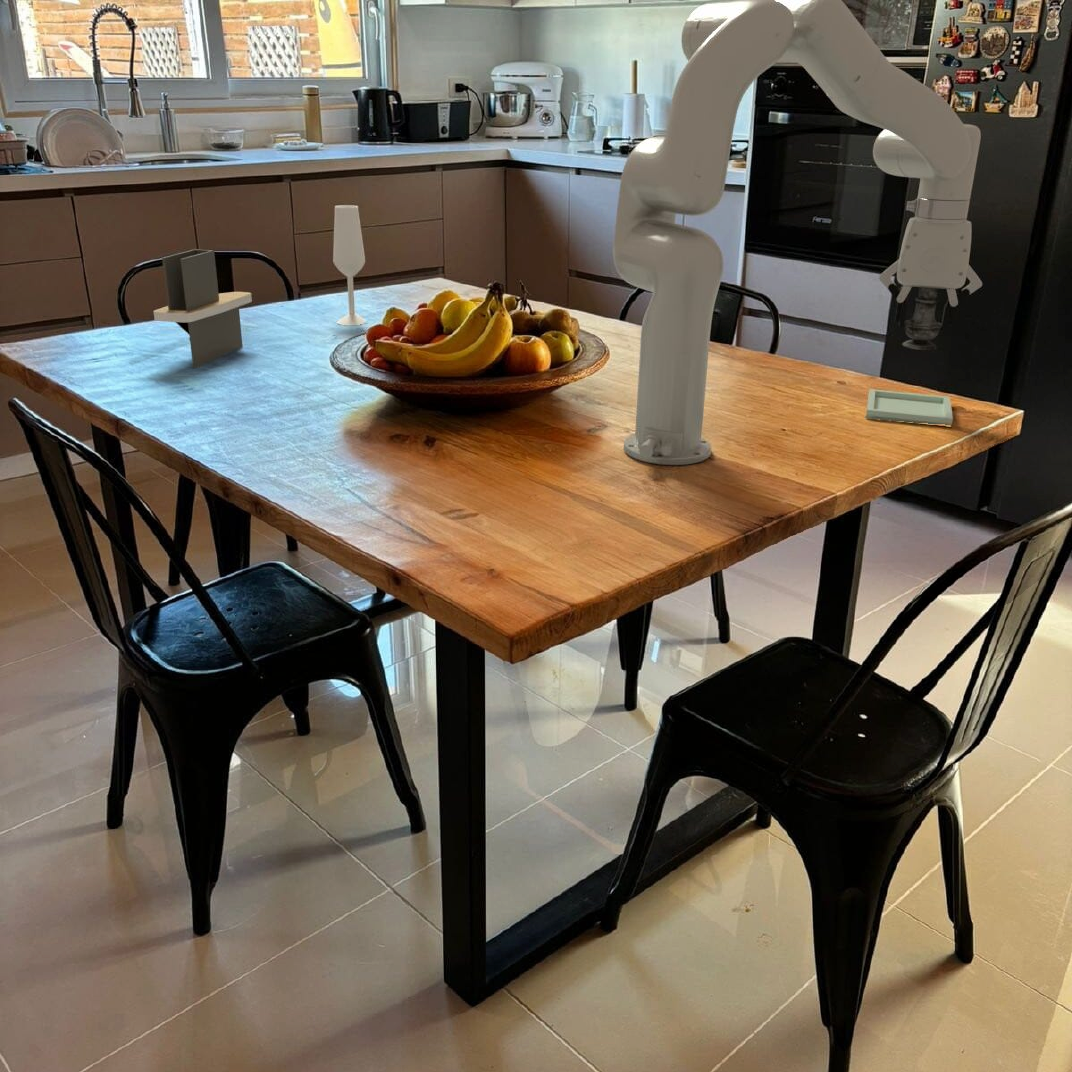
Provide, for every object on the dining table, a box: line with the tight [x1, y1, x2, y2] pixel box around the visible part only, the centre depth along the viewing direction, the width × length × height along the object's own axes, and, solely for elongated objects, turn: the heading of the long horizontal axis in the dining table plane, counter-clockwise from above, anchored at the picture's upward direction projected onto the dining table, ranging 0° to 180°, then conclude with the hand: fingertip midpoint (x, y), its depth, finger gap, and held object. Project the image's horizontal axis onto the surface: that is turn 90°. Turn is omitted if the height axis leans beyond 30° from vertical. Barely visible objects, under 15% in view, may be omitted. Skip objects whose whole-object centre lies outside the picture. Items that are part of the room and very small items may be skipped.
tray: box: [865, 388, 954, 425], centre depth 173 cm, size 13×13×2 cm
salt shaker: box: [901, 287, 942, 351], centre depth 166 cm, size 6×6×12 cm
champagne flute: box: [332, 204, 367, 326], centre depth 222 cm, size 7×7×24 cm
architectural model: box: [153, 248, 253, 369], centre depth 194 cm, size 38×25×20 cm, turn 165°
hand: (922, 327), depth 167 cm, fingers closed on salt shaker, 5 cm apart
